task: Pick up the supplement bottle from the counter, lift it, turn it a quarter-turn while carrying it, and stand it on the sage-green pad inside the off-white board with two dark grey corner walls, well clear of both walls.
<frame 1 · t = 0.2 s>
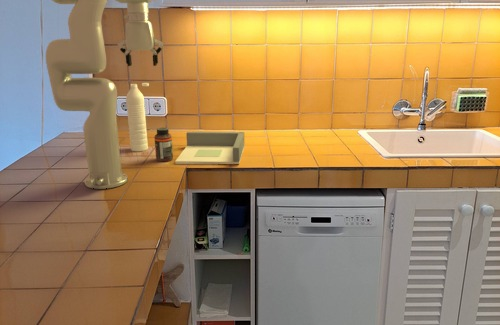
hand: (142, 65, 171), 31 cm above the worktop, tool pointing down, fingers open, 9 cm apart
supplement bottle: (164, 160, 160), on the worktop
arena: (211, 155, 164), on the worktop
water bottle: (142, 149, 173), on the worktop
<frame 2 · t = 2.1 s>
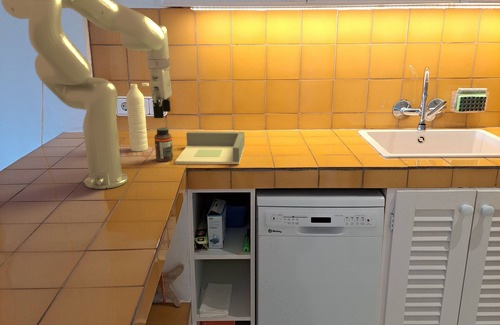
hand: (162, 114, 155), 16 cm above the worktop, tool pointing down, fingers open, 9 cm apart
nothing on the worktop moved.
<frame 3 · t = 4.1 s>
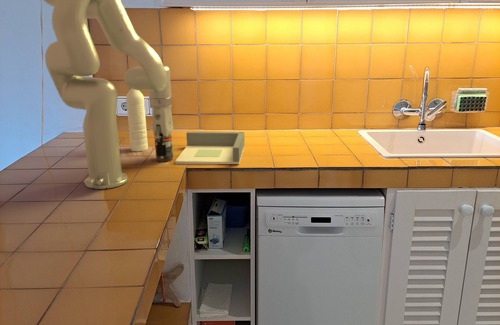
hand: (164, 152, 159), 3 cm above the worktop, tool pointing down, fingers closed on supplement bottle, 6 cm apart
supplement bottle: (164, 160, 160), on the worktop, touching gripper
everything else where it was.
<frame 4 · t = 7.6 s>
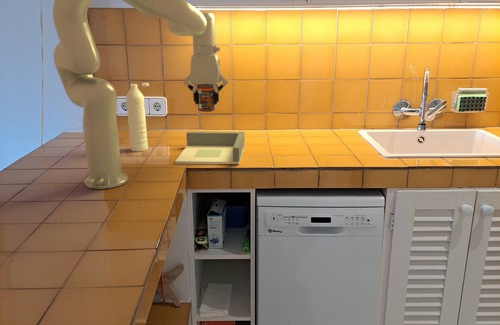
hand: (206, 103, 158), 19 cm above the worktop, tool pointing down, fingers closed on supplement bottle, 6 cm apart
supplement bottle: (206, 111, 159), point 16 cm above the worktop, touching gripper
everything else where it was.
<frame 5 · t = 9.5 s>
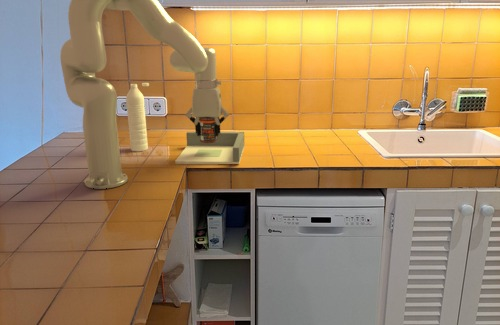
hand: (208, 134, 161), 8 cm above the worktop, tool pointing down, fingers closed on supplement bottle, 6 cm apart
supplement bottle: (208, 142, 162), point 5 cm above the worktop, touching gripper
everything else where it was.
when the fingers open (5 cm above the worktop, at t = 11.1 s): supplement bottle drops 1 cm, resting on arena.
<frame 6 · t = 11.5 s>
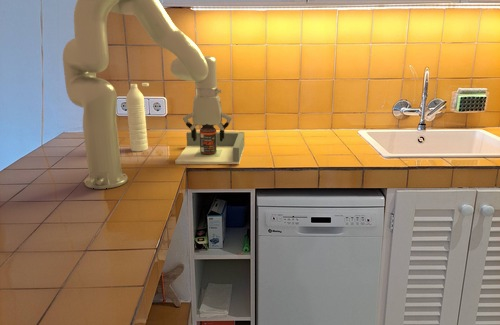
hand: (208, 140, 162), 6 cm above the worktop, tool pointing down, fingers open, 9 cm apart
supplement bottle: (208, 153, 163), point 1 cm above the worktop, touching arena
everything else where it was.
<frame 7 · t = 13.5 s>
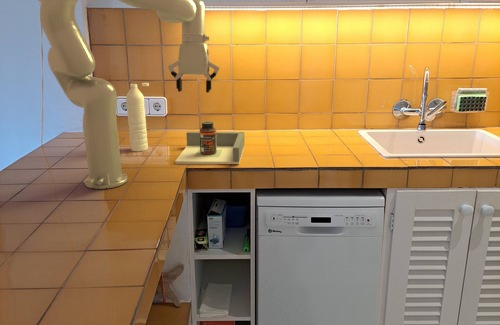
hand: (193, 91, 154), 24 cm above the worktop, tool pointing down, fingers open, 9 cm apart
nothing on the worktop moved.
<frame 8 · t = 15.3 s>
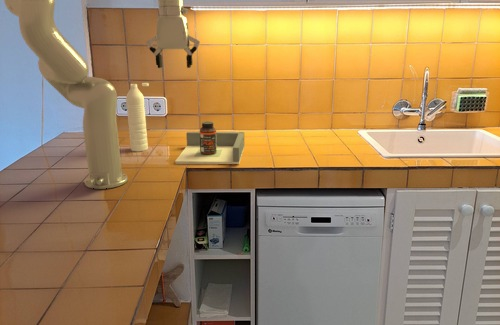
hand: (174, 67, 148), 32 cm above the worktop, tool pointing down, fingers open, 9 cm apart
nothing on the worktop moved.
at the end: supplement bottle inside the target area on the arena (0.1 cm from its centre), point 0.9 cm above the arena's base; supplement bottle tilted 0°; the gripper is holding nothing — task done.
